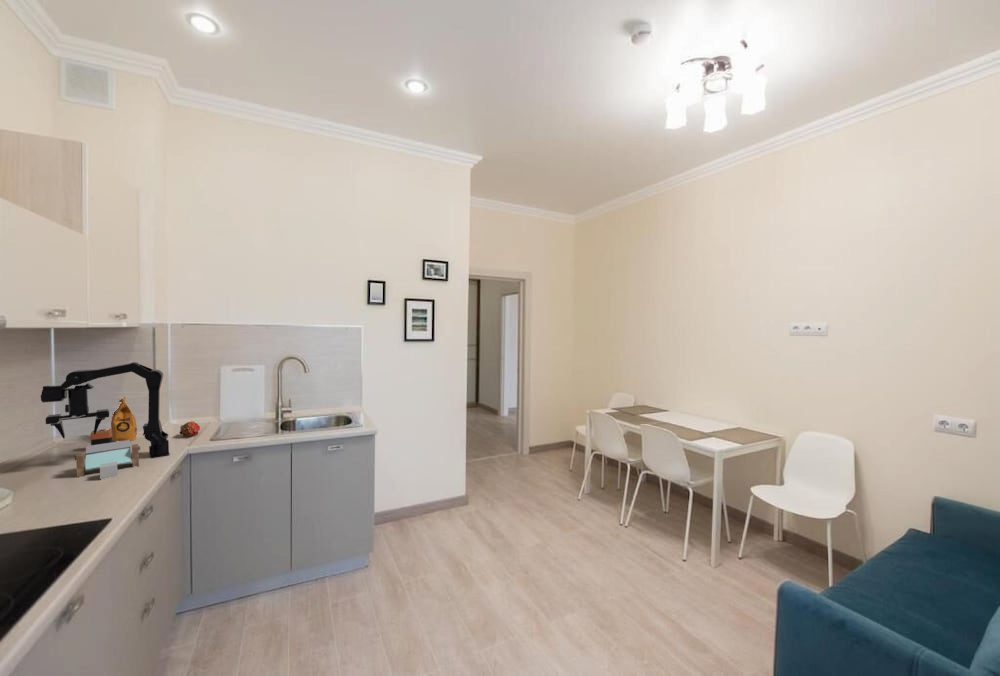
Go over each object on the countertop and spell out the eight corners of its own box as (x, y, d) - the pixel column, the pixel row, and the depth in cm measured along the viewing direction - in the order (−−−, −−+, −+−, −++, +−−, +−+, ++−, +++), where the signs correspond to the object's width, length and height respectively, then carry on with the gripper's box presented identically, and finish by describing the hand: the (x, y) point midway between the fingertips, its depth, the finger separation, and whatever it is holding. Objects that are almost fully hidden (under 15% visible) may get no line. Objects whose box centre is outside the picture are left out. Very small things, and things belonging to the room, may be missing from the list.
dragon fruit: (186, 442, 214) (190, 439, 225) (202, 431, 218) (205, 428, 229) (174, 430, 213) (178, 428, 223) (190, 419, 216) (194, 417, 227)
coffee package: (110, 444, 205) (108, 400, 204) (112, 438, 215) (110, 396, 214) (136, 440, 212) (135, 398, 210) (137, 434, 221) (136, 394, 220)
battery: (93, 449, 198) (92, 428, 197) (112, 446, 201) (112, 426, 201) (91, 451, 194) (90, 430, 193) (110, 449, 198) (109, 428, 197)
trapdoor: (130, 443, 181) (130, 439, 179) (131, 465, 176) (130, 461, 174) (86, 449, 172) (85, 446, 170) (86, 472, 167) (85, 469, 165)
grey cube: (117, 465, 165) (117, 477, 165) (117, 461, 168) (117, 473, 169) (99, 468, 161) (100, 480, 162) (100, 464, 165) (100, 476, 165)
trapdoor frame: (140, 462, 181) (139, 443, 180) (140, 465, 177) (140, 446, 177) (75, 474, 167) (75, 453, 167) (74, 477, 164) (74, 456, 163)
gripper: (108, 394, 187) (110, 428, 187) (48, 399, 174) (49, 436, 175) (108, 398, 178) (109, 433, 179) (44, 404, 166) (46, 442, 167)
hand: (79, 436), depth 175 cm, fingers open, 9 cm apart
